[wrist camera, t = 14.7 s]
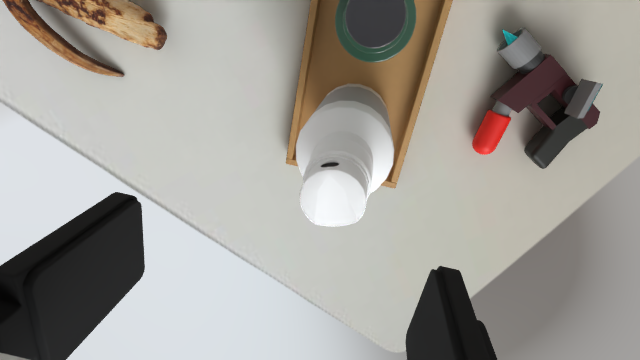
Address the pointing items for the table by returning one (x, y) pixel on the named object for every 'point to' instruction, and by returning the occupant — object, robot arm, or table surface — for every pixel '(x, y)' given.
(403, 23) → the green bottle
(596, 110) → the toy gun
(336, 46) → the tray
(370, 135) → the spray bottle
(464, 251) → the table surface
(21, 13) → the lashed bone hook
